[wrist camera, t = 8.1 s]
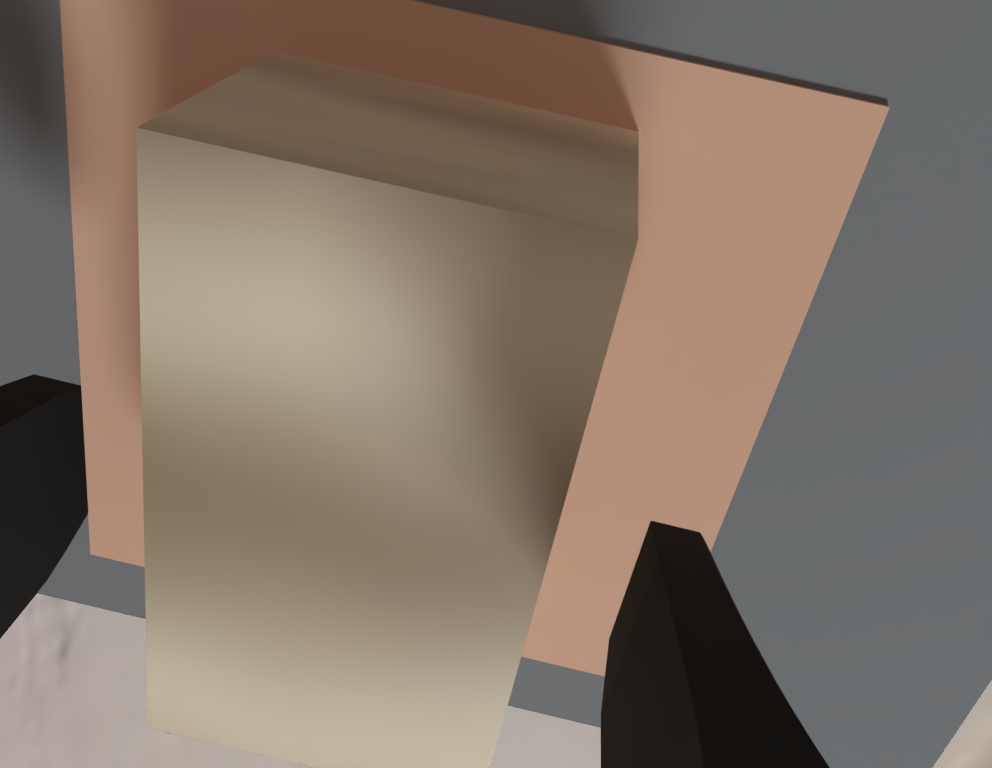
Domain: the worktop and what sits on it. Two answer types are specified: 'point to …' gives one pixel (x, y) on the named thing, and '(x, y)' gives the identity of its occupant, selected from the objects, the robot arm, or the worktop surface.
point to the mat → (625, 309)
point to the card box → (363, 401)
